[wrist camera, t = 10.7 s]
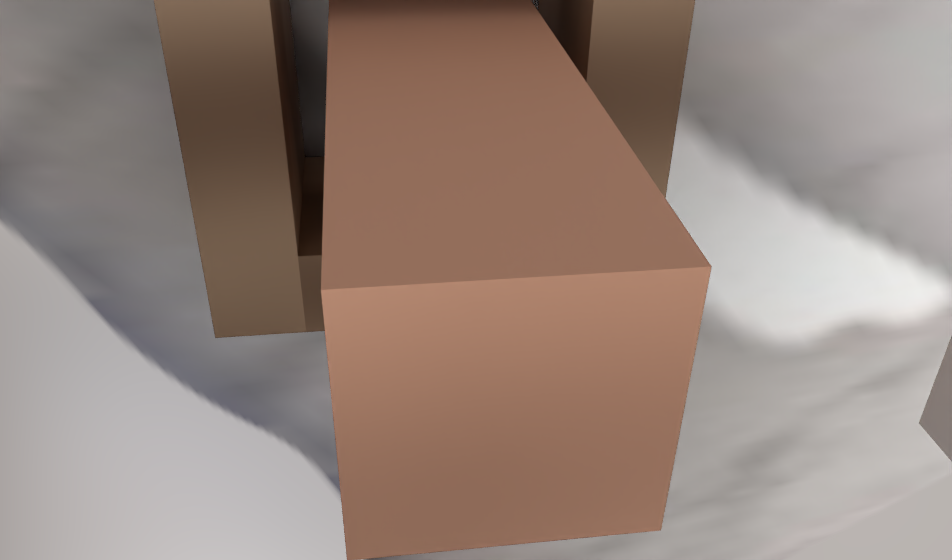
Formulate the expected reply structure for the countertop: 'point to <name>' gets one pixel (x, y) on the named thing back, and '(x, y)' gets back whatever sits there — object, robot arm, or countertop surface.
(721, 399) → the countertop surface
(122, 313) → the countertop surface
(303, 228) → the socket block
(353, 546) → the peg
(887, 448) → the countertop surface
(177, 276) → the countertop surface
